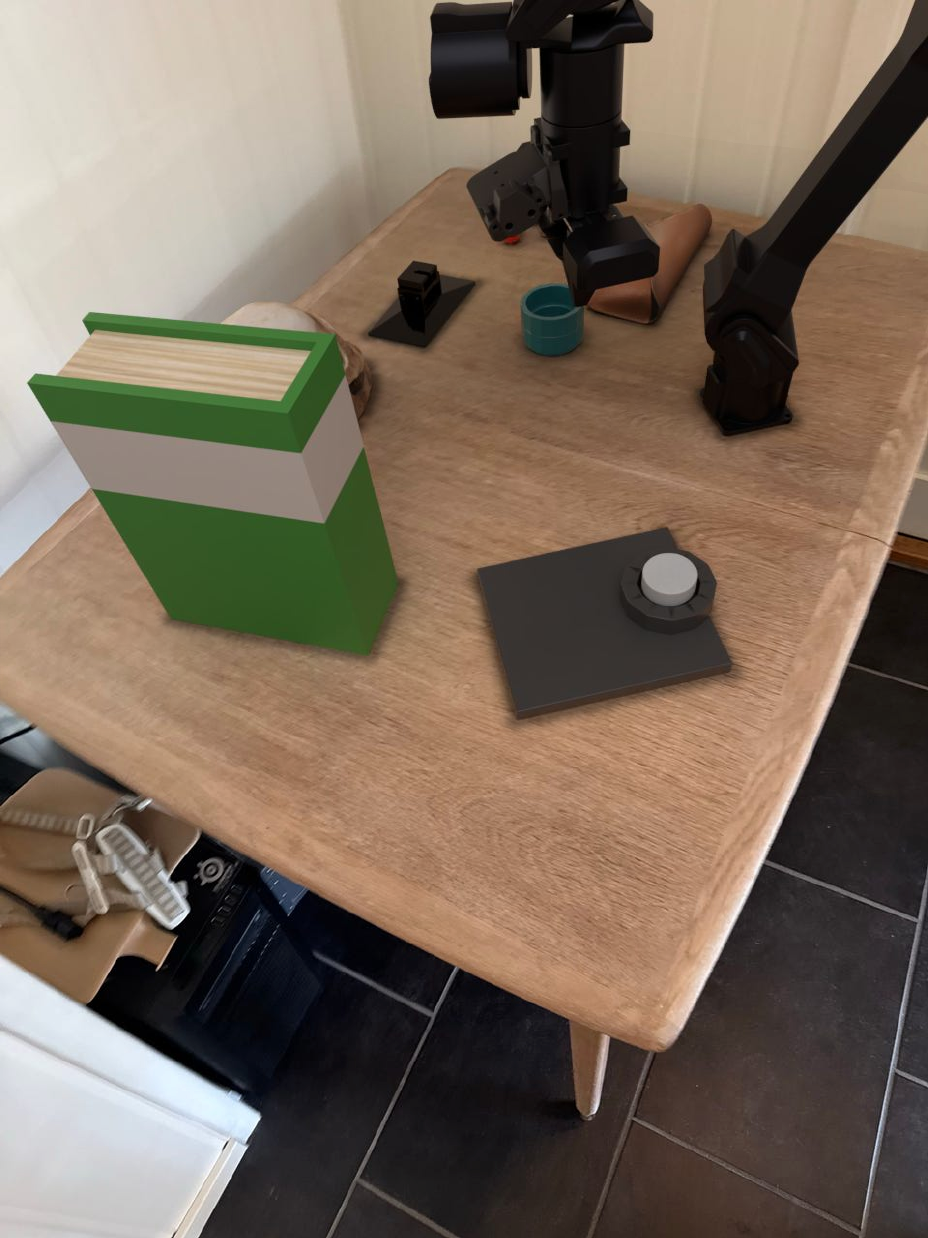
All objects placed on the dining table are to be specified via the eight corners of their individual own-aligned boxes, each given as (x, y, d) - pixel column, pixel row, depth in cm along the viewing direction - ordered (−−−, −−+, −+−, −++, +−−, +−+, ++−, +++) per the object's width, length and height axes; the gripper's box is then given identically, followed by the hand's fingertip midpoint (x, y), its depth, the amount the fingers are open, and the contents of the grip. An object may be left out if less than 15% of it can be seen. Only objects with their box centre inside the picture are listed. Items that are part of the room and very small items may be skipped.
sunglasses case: (638, 220, 101) (671, 173, 95) (686, 256, 102) (722, 213, 96) (581, 308, 92) (614, 262, 86) (635, 347, 93) (671, 305, 87)
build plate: (425, 350, 92) (418, 311, 88) (365, 337, 94) (356, 298, 90) (476, 283, 98) (472, 244, 94) (419, 273, 100) (413, 234, 97)
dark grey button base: (677, 533, 73) (680, 508, 70) (743, 669, 64) (749, 646, 62) (477, 577, 72) (474, 553, 70) (517, 721, 63) (514, 699, 61)
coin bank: (368, 351, 92) (336, 239, 80) (388, 475, 83) (356, 369, 71) (222, 383, 92) (170, 276, 81) (227, 510, 83) (169, 410, 72)
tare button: (684, 561, 67) (686, 547, 66) (703, 600, 65) (705, 587, 64) (634, 572, 67) (635, 559, 66) (651, 612, 65) (652, 599, 64)
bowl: (574, 316, 92) (574, 277, 89) (590, 351, 88) (591, 311, 85) (516, 328, 92) (514, 290, 88) (531, 363, 88) (529, 324, 85)
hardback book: (170, 618, 73) (26, 382, 54) (210, 552, 77) (89, 311, 58) (368, 655, 68) (287, 413, 49) (398, 583, 72) (335, 334, 53)
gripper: (443, 81, 67) (463, 267, 80) (505, 194, 56) (517, 391, 68) (582, 52, 68) (581, 241, 80) (671, 158, 57) (653, 360, 69)
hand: (580, 304), depth 75 cm, fingers closed
